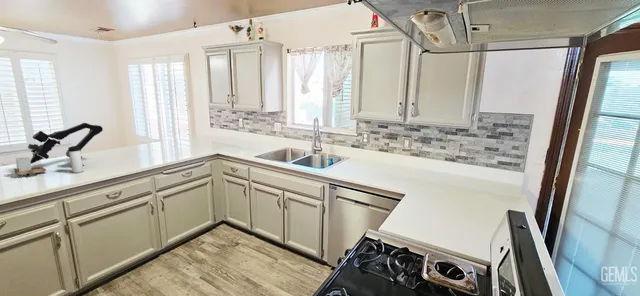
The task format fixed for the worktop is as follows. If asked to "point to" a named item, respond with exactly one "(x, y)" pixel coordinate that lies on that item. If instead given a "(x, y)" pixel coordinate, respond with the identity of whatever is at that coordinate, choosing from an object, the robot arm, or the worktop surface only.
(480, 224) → the worktop surface
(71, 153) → the travel mug
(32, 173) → the pivot stand
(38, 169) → the walnut beam
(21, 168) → the block
